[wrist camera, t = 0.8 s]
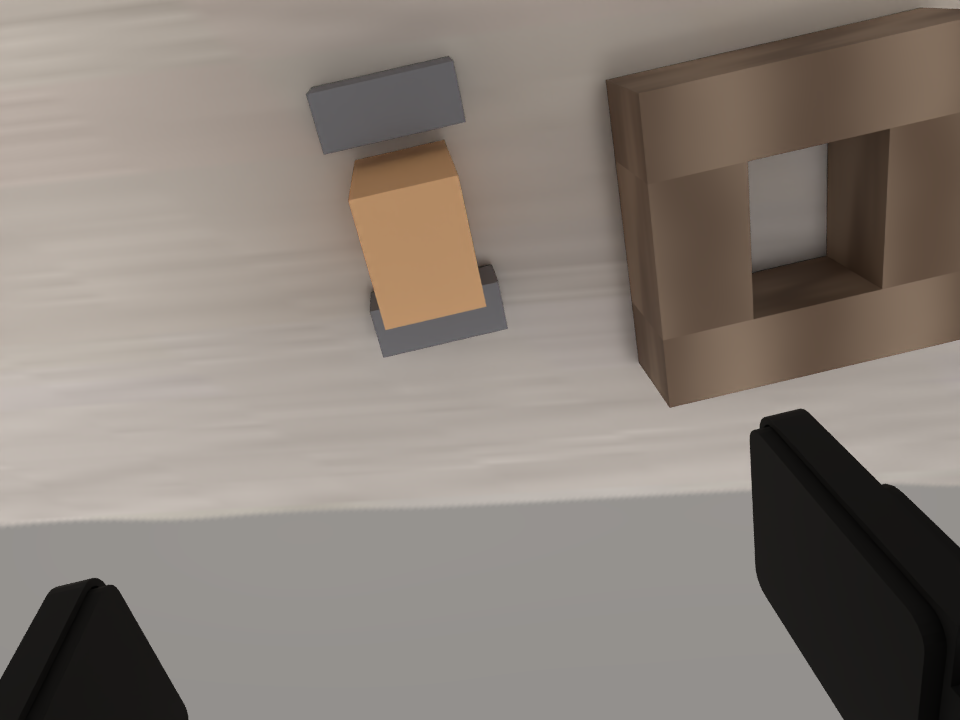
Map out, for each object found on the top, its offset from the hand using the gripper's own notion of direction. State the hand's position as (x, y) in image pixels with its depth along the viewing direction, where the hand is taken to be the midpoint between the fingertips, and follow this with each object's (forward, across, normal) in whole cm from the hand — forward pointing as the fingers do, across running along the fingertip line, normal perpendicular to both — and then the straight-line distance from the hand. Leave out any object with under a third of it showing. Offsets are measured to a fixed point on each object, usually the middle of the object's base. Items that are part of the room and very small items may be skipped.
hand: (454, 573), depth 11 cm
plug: (+20, 0, 0) cm, 20 cm away
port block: (+20, -14, +3) cm, 25 cm away
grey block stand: (+20, 0, 0) cm, 20 cm away
